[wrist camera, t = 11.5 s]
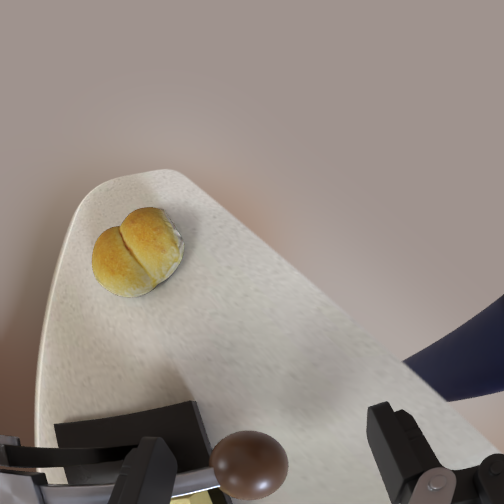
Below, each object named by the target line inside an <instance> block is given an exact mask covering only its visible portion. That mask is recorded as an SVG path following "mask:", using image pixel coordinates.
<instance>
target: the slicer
mask: <svg viewBox="0 0 504 504" xmlns="http://www.w3.org/2000/svg"><path fill="white" fill-rule="evenodd" d="M54 428H55V433H56V438H57V443H58V447H59V448H39V447H25V446H21V444H20V439H19V438H18V437H13V436H6V435H0V465H1V466H6V467H19V468H47V467H64V470H65V474H66V477H67V480H68V484H100V483H114V482H116V480H117V477H118V475H119V472H120V470H121V468H122V464H123V462H124V459H125V457H126V455H127V454H128V453H129V452H130V451H131V450H132V449H133V448H138V446H139V443H140V440H141V439H142V437H161V438H163V440H164V441H165V443H166V444H167V446H168V447H169V449H170V450H171V452H172V453H173V455H174V456H175V458H176V461H177V473H182V472H187V471H192V470H196V469H200V468H204V467H208V466H209V458H210V455H211V453H212V449H211V446H210V443H209V440H208V437H207V434H206V431H205V428H204V425H203V422H202V418H201V415H200V412H199V409H198V406H197V402H196V401H187V402H183V403H179V404H174V405H170V406H166V407H161V408H157V409H152V410H147V411H142V412H137V413H132V414H127V415H121V416H115V417H109V418H102V419H95V420H87V421H79V422H70V423H59V424H54ZM207 491H208V494H209V496H210V499H211V501H212V504H232V501H231V499H230V496H229V495H227V494H226V493H224V492H223V491H221V490H220V489H219V488H218V487H216V488H212V489H208V490H207Z"/></svg>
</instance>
